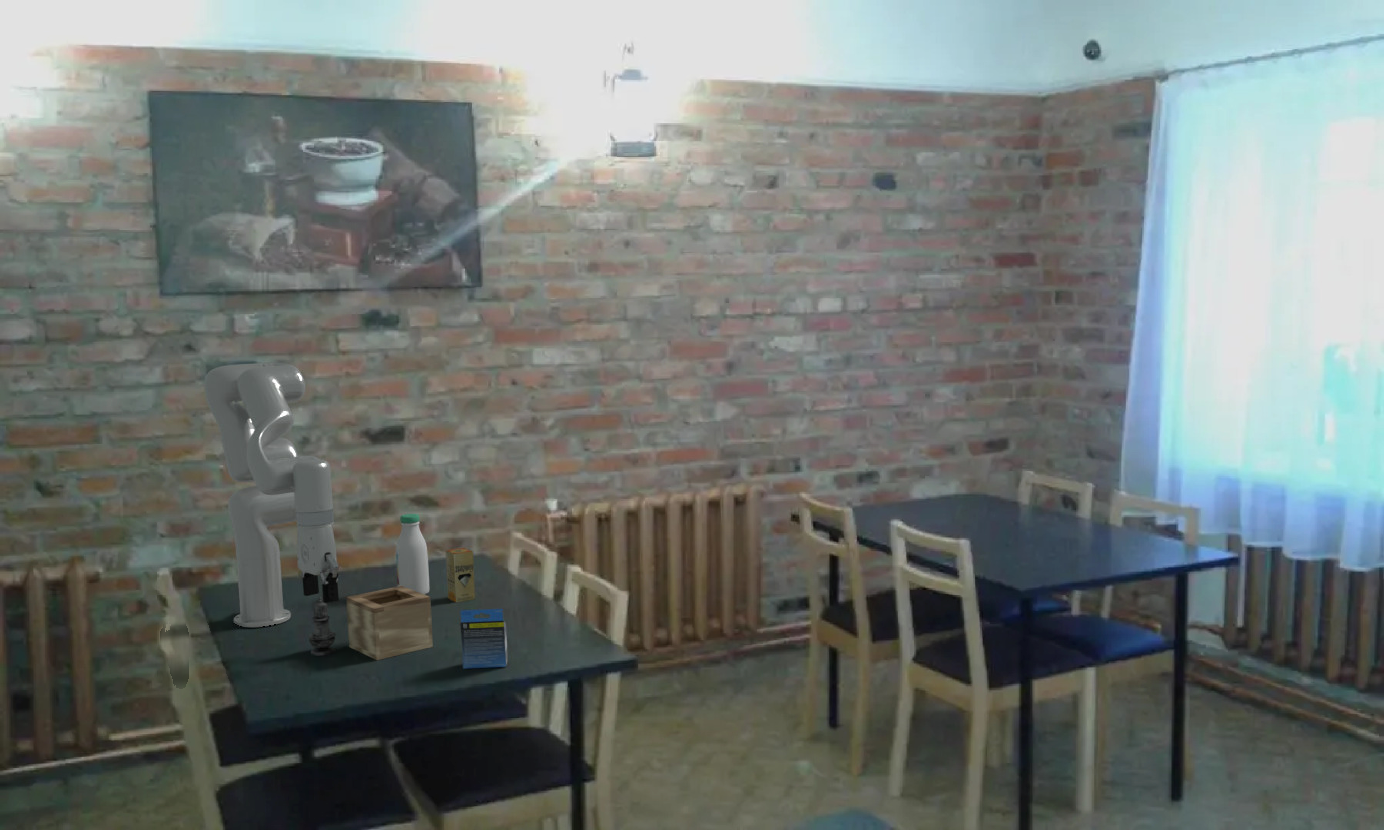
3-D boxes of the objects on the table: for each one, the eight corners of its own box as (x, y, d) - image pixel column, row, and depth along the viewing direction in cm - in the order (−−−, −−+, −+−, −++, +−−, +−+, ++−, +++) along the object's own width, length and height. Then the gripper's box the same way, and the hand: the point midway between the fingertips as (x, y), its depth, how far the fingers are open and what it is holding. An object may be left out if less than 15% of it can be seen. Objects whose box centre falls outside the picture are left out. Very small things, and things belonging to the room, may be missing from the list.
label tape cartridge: (508, 661, 255) (505, 603, 254) (506, 667, 251) (503, 608, 250) (464, 663, 255) (462, 604, 253) (462, 669, 251) (459, 609, 249)
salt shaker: (329, 656, 262) (325, 600, 260) (303, 655, 263) (299, 600, 261) (342, 647, 267) (338, 593, 266) (317, 646, 268) (313, 592, 267)
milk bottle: (436, 591, 312) (432, 513, 310) (413, 599, 305) (409, 519, 303) (413, 588, 316) (409, 511, 314) (391, 595, 310) (387, 516, 307)
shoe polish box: (475, 599, 304) (472, 551, 303) (456, 602, 301) (453, 554, 300) (466, 595, 308) (464, 547, 307) (448, 598, 306) (445, 550, 304)
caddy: (349, 646, 268) (346, 597, 266) (403, 634, 276) (401, 585, 275) (376, 660, 258) (374, 608, 257) (432, 646, 266) (430, 596, 265)
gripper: (281, 516, 266) (287, 595, 267) (315, 526, 252) (321, 608, 254) (314, 511, 270) (320, 588, 272) (349, 520, 257) (355, 601, 259)
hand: (321, 598), depth 263 cm, fingers open, 9 cm apart
